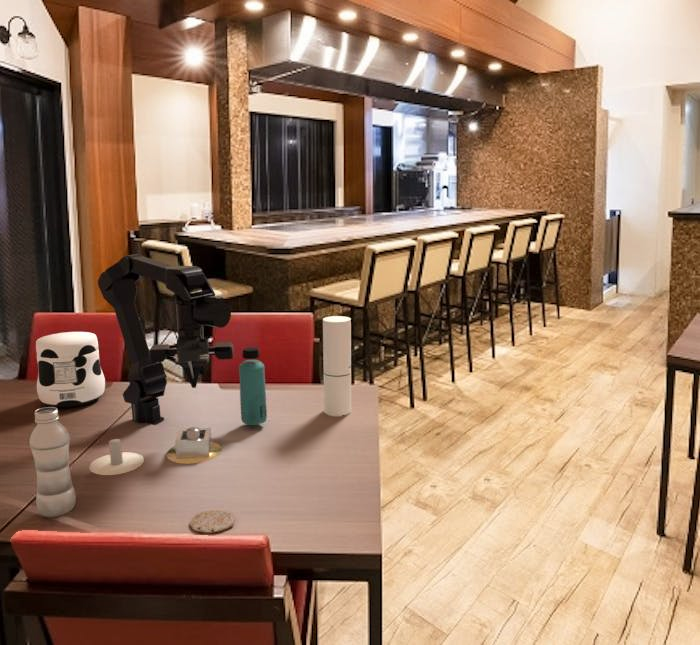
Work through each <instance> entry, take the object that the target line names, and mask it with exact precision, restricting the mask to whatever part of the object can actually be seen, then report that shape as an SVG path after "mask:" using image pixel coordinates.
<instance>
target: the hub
mask: <svg viewBox="0 0 700 645" xmlns="http://www.w3.org/2000/svg"><path fill="white" fill-rule="evenodd" d="M187 439H200V429H199V427H196V426H193V427H189V428H187ZM222 451H223V448H222V446H221V445H220V444H218V443H217V442H214V441H211V450H210V456H209V457H204V458H188V459H176V449H175V445H174V446H173V447H171V448H170V449H168V451H166V458H167V459H168V460H169V461H172V462H173V463H178V464H187V465H188V464H189V465H190V464H199V463H204V462H207V461H210V460H212V459H215V458H217V457H218V456H219V455H221V453H222Z"/></svg>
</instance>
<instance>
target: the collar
mask: <svg viewBox="0 0 700 645" xmlns="http://www.w3.org/2000/svg"><path fill="white" fill-rule="evenodd" d="M198 428H199V427H198ZM187 429H188V428H187ZM187 429H186V428H183V429H178V432H177V435H176V438H175V441H174V446H175V449H176V459H188V458H204V457H209V456H210V450H211V442H212V432H211V430H212V429H211V427H204V428H199V429H200V439H187Z"/></svg>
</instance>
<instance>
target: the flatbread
mask: <svg viewBox="0 0 700 645" xmlns="http://www.w3.org/2000/svg"><path fill="white" fill-rule="evenodd" d="M235 521H236V516H235V514H234V513H232V512H231V511H230V512H229V511H227V510H221V509H219V510H218V509H211V510H205V511H201V512H199V513H197V514H195V515H194V516H192V518H191V520H190V522H189V525H190V528H191V529H192V530H193V531H194V532H197V533H205V534H207V533H208V534H212V533H218V532H222V531H225V530H227V529H229V528H231V527H234V525H235Z"/></svg>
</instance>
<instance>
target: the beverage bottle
mask: <svg viewBox="0 0 700 645" xmlns="http://www.w3.org/2000/svg"><path fill="white" fill-rule="evenodd" d="M260 356H261V355H260V349H259V348H258V347H256V346H248V347H244V348H243V349H242V358H243V359H244V361H242V362H241V364H239V366H238V372H239V377H238V378H239V397H240V398H239V400H240V401H239V402H240V404H239V405H240V408H239V410H240V418H241V422H242V423H243V424H244V425H249V426H250V425H252V426H253V425H256V426H257V425H261V424H264V423H265V422H266V421H267V418H268V415H267V414H268V410H267V395H266V394H267V393H266V391H267V390H266V386H267V385H266V384H267V383H266V377H265V375H266V374H265V364H264V363H263V362H262V361H260V360H258V358H260ZM245 359H246V360H245Z"/></svg>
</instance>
